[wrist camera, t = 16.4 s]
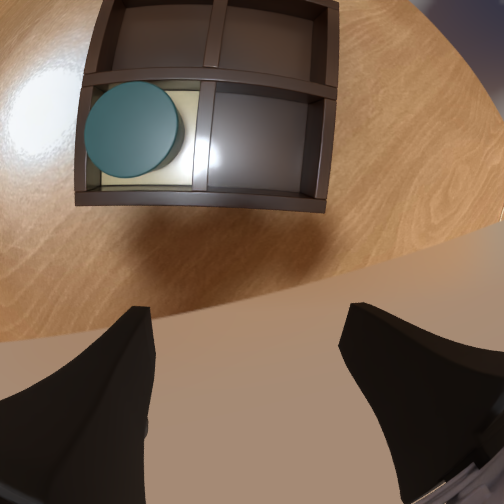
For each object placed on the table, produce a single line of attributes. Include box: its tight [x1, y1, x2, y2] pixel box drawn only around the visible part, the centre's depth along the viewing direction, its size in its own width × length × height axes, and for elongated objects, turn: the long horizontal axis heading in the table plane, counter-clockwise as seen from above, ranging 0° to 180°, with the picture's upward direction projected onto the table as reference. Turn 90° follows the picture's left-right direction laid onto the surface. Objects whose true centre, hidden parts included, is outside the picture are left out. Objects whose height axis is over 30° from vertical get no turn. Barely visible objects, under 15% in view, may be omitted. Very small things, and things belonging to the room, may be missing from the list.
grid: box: [74, 0, 339, 214], centre depth 13 cm, size 14×14×3 cm
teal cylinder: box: [84, 81, 185, 178], centre depth 12 cm, size 4×4×4 cm
